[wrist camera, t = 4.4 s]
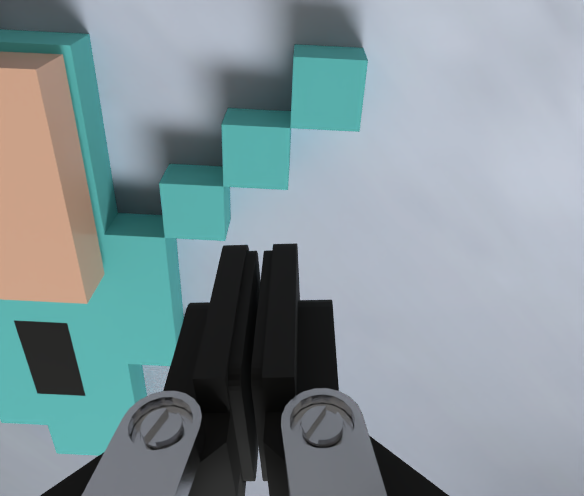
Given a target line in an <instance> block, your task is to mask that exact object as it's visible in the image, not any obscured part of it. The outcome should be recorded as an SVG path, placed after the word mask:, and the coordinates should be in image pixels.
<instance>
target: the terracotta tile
mask: <svg viewBox="0 0 584 496" xmlns="http://www.w3.org/2000/svg"><path fill="white" fill-rule="evenodd" d="M103 276H104V268H103V263H102V258H101V252H100V247H99V242H98V237H97V231H96V226H95V221H94V216H93V210H92V205H91V200H90V195H89V189H88V184H87V179H86V173H85V168H84V163H83V158H82V152H81V147H80V142H79V137H78V131H77V126H76V121H75V116H74V110H73V105H72V100H71V94H70V89H69V84H68V79H67V73H66V68H65V63H64V58H63V54H44V53H22V52H0V299H2V300H22V301H41V302H61V303H81V304H88V302H89V300H90V298H91V297H92V295H93V293H94V292H95V290H96V288H97V286H98V285H99V283H100V281H101V279H102V278H103Z"/></svg>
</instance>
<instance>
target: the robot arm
mask: <svg viewBox="0 0 584 496" xmlns="http://www.w3.org/2000/svg"><path fill="white" fill-rule="evenodd" d="M258 446H259V453H260V461H261V469H262V477H263V481H268V487H269V495H270V496H449V495H447V494H446V493H445V492H443V491H442V490H441V489H439V488H438V487H437V486H435V485H434V484H433V483H431V482H430V481H429V480H427V479H426V478H425V477H423V476H422V475H421V474H419V473H418V472H417V471H415V470H414V469H413V468H412V467H410V466H409V465H408V464H406V463H405V462H404V461H402V460H401V459H400V458H398V457H397V456H396V455H394V454H393V453H392V452H390V451H389V450H388V449H386V448H385V447H384V446H382V445H381V444H380V443H378V442H377V441H376V440H374V439H373V438H372V437H370V436H369V434H368V430H367V427H366V424H365V420H364V417H363V414H362V412H361V410H360V408H359V406H358V404H357V403H356V402H355V401H354V400H353V399H351V398H350V397H349V396H347V395H346V394H344V393H342V392H340V391H339V387H338V373H337V360H336V346H335V332H334V318H333V305H332V300H300V292H299V270H298V248H297V244H273V251H264V255H263V264H262V273H261V282H260V272H259V261H258V253H257V251H249V248H248V245H227V246H223V248H222V252H221V257H220V261H219V265H218V270H217V274H216V278H215V283H214V287H213V291H212V296H211V300H210V303H190V304H189V305H188V307H187V309H186V313H185V316H184V320H183V323H182V327H181V331H180V334H179V338H178V341H177V345H176V348H175V352H174V355H173V359H172V362H171V366H170V369H169V373H168V376H167V380H166V384H165V387H164V391H161V392H157V393H153V394H150V395H148V396H146V397H144V398H142V399H140V400H139V401H138V402H136V403H135V404H134V405H133V406H132V407H130V408H129V410H128V411H127V412H126V414H125V415H124V417H123V418H122V420H121V422H120V424H119V426H118V427H117V429H116V431H115V433H114V435H113V437H112V439H111V441H110V443H109V445H108V446H107V448H106V450H105V452H104V453H102V454H101V455H99V456H98V457H96V458H95V459H93V460H92V461H90V462H89V463H87V464H86V465H84V466H83V467H82V468H80V469H79V470H77V471H76V472H74V473H73V474H71V475H70V476H68V477H67V478H65V479H64V480H62V481H61V482H60V483H58V484H57V485H55V486H54V487H52V488H51V489H49V490H48V491H46V492H45V493H43V494H42V495H41V496H245V487H246V481H255V479H256V470H257V458H258Z"/></svg>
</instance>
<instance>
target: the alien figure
mask: <svg viewBox="0 0 584 496" xmlns="http://www.w3.org/2000/svg"><path fill="white" fill-rule="evenodd" d="M0 52H22V53H44V54H63V58H64V63H65V68H66V73H67V79H68V84H69V89H70V94H71V100H72V105H73V110H74V116H75V121H76V126H77V131H78V137H79V142H80V147H81V152H82V158H83V163H84V168H85V173H86V179H87V184H88V189H89V195H90V200H91V205H92V210H93V216H94V221H95V226H96V231H97V237H98V242H99V247H100V252H101V258H102V263H103V268H104V276H103V278H102V279H101V281H100V283H99V285H98V286H97V288H96V290H95V292H94V293H93V295H92V297H91V298H90V300H89V302H88V304H81V303H61V302H41V301H22V300H2V299H0V420H1V422H2V423H19V424H39V425H48V428H49V431H50V434H51V437H52V440H53V443H54V446H55V449H56V452H57V453H59V454H79V455H101V454H102V453H104V452H105V450H106V448H107V446H108V445H109V443H110V441H111V439H112V437H113V435H114V433H115V431H116V429H117V427H118V426H119V424H120V422H121V420H122V418H123V417H124V415H125V414H126V412H127V411H128V410H129V408H130V407H132V406H133V405H134V404H135V403H136V402H138V401H139V400H140V399H142V398H144V397H146V396H147V393H146V387H145V380H144V374H143V368H142V365H159V366H171V362H172V359H173V355H174V352H175V348H176V345H177V341H178V338H179V334H180V331H181V327H182V323H183V320H184V317H183V306H182V295H181V284H180V273H179V263H178V252H177V241H176V238H179V239H199V240H219V241H225V239H226V235H227V231H228V227H229V223H230V219H231V215H230V187H241V188H261V189H281V190H288V180H289V163H290V140H291V128H298V129H318V130H338V131H358V132H359V131H360V122H361V114H362V105H363V97H364V88H365V80H366V71H367V63H368V60H367V57H366V54H365V52H364V49H363V48H357V47H337V46H317V45H298V44H295V46H294V57H293V80H292V103H291V111H277V110H258V109H238V108H228V109H227V112H226V114H225V117H224V119H223V122H222V124H221V127H222V158H223V166H205V165H185V164H169V165H168V167H167V169H166V171H165V173H164V175H163V177H162V179H161V181H160V182H159V188H160V197H161V207H162V215H149V214H129V213H118V211H117V205H116V199H115V193H114V186H113V180H112V174H111V167H110V161H109V155H108V149H107V142H106V136H105V130H104V124H103V117H102V111H101V105H100V99H99V92H98V86H97V80H96V73H95V67H94V61H93V55H92V48H91V42H90V36H89V34H81V33H61V32H42V31H22V30H2V29H0Z"/></svg>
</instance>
